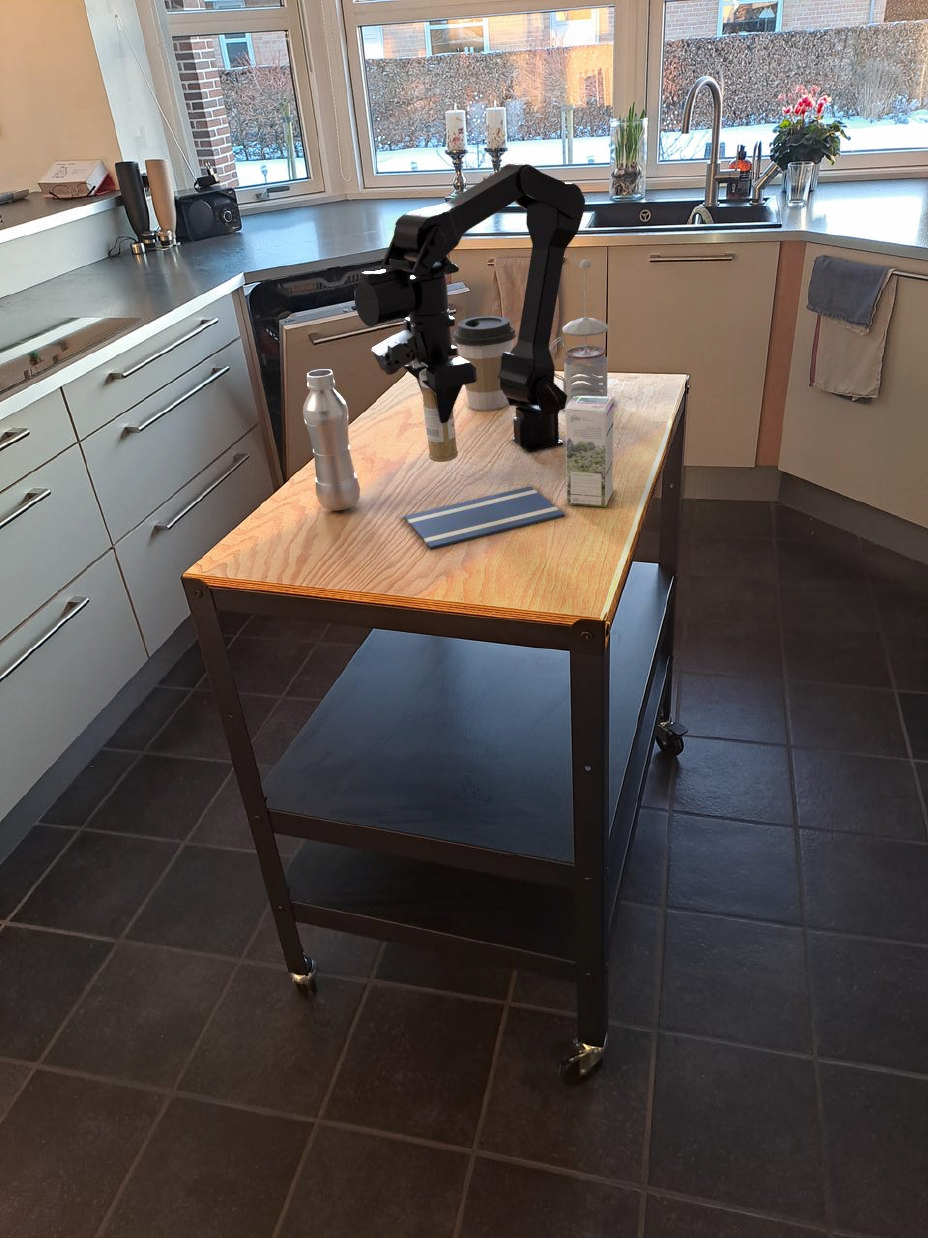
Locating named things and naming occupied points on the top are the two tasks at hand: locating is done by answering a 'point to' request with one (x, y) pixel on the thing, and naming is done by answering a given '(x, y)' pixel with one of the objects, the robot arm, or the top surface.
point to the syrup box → (589, 450)
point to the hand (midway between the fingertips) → (438, 418)
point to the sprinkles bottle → (437, 427)
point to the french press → (584, 356)
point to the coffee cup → (485, 357)
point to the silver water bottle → (330, 442)
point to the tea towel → (482, 517)
